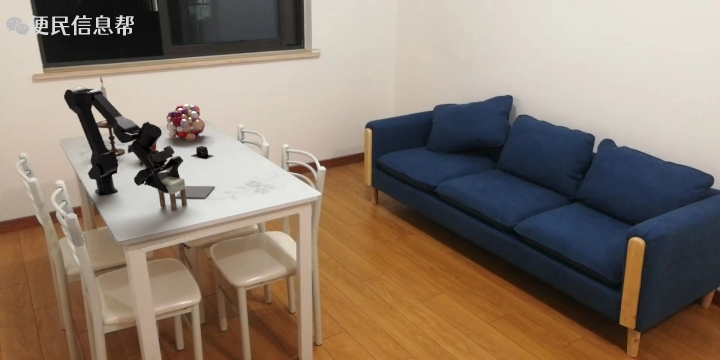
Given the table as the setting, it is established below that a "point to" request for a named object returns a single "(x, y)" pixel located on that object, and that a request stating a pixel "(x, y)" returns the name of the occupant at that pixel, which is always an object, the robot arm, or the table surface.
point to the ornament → (185, 122)
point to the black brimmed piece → (202, 153)
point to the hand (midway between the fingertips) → (174, 189)
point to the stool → (173, 191)
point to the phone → (162, 175)
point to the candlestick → (107, 125)
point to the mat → (197, 191)
